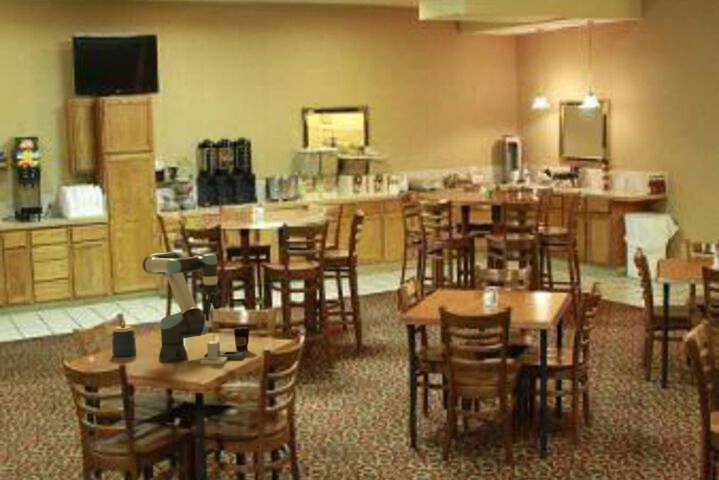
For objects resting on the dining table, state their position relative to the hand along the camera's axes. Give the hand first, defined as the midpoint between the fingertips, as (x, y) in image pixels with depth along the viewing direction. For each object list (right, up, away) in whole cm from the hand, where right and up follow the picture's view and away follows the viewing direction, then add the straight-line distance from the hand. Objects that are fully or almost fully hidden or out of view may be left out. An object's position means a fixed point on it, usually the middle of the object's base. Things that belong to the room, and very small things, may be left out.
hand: (212, 323), depth 526 cm
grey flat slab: (+5, -19, +11) cm, 23 cm away
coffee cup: (+13, -17, +26) cm, 34 cm away
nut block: (+1, -20, +2) cm, 20 cm away
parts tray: (+1, -20, +2) cm, 20 cm away
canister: (-52, -19, +25) cm, 61 cm away
